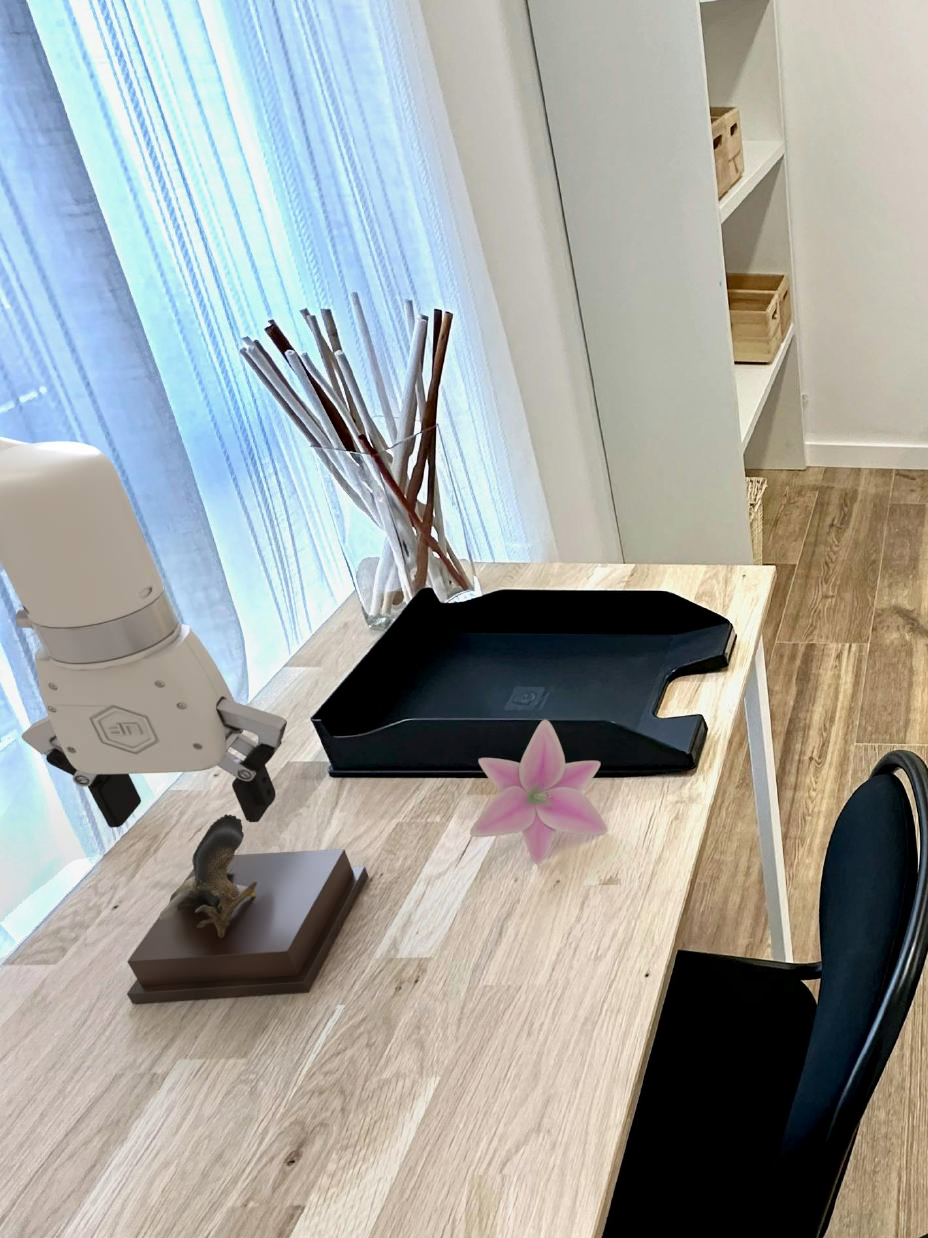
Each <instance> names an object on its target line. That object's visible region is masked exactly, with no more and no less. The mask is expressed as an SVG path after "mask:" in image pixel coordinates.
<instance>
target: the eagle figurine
mask: <svg viewBox="0 0 928 1238" xmlns="http://www.w3.org/2000/svg"><path fill="white" fill-rule="evenodd" d="M243 828H244V827H243V824H242V819H240V818H237V816H236V815H232V814H227V813H225V814H224V815H223V816H221V817H219V818H217V819H216V820H215V821H213V823H212V824H210V826H209V828H208V829H207V831H206V832H205V834H204V836H203V837H202V839H201V841H200V842H199V844H198V845H197V847H196V849H195V851H194V853H193V855H192V866H193V868H194V873H195V876H194V877H192V878H190V879H188V880H187V881H186V882H184V881H183V882H184V883H183V882H182V884H181V885H180V886H179V887H177V888H176V890H175V891H173V893H172V894H171V896H170V899H169V902H168V904H167V905H166V906H165V907H164V908H163V909H162V910H161V911H160V912H159V916H160V920H162V921H169V920H171V919H173V918H174V917H175V916H177V915H178V914H179V913H180V912H181V911H182V910H183V909H184V908H185V907H188V906H193V907H196V908H197V909H196V910H195V913H198V912H200V911H202V912H203V913H204V914H205V915H206V916H208V918H209V919H207V920H204V921H202V922H200V923H199V924H198V925H197V927H199V928H202V927H204V926H205V925H206V924H209V923H214V924H215V926H216V927H217V930H218V936H219V937H220V938H223V937H224V934H225V930H226V927H228V926H229V922H230V921H231V918H230V917H231V914H232V913H233V911H234V909H235V907H237V906H238V904H239V903H240V902H241V901H243V900H244V899H245V898H246V897H248V896H250V897H255V896H256V895H255V894H254V893H252V892H253V891H254V890H255V887H256V884H257V882H256V881H254V882H252V883H251V884H250V886H249V887H245V886H241V885H236V884H232V883H231V882H230V881H229V880H228V879H227V873H229V872H230V871H231V870H232V868H229V869H227V867H228V865H229V864H230V862H231V861H232V859H233V858H234V855H236V854H235V852H236V851H237V850H238V848H239V847H240V846H241V844H242V843H243V840H244V838H245V834H244V831H243ZM193 868H192V869H193Z"/></svg>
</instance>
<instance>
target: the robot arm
mask: <svg viewBox="0 0 928 1238" xmlns="http://www.w3.org/2000/svg"><path fill="white" fill-rule="evenodd" d="M0 564H1V565H2V568H3V570H4V572H5V574H6V576H7V578H8V580H9V582H10V584H11V586H12V588H13V590H14V592H15V594H16V596H17V598H18V600H19V602H20V604H21V606H22V608H20V609H18V611H17V612H16V614H15V623H16V625H17V626H18V627H19V628H20V629H31V630H34V632H35V634H36V636H37V638H38V640H39V642H40V644H41V646H40V647H39V648H38V649H37V650H36V651H35V653H34V661H35V662H34V663H35V670H36V676H37V682H38V686H39V690H40V694H41V698H42V701H43V704H44V707H45V710H46V713H47V716H45V717H44V718H41V719H40V720H37V721H35V722H33V723H32V724H31V725H30V726H29V727H28V728H27V729H26V730H25V731H24V732H23V733H22V734H21V739H22V740H23V741H24V742H25V743H26V744H28V745H29V746H30V747H31V748H33V749H34V750H36V752H38V753H40V755H44V756H46V757H45V759H46V762H47V763H48V764H49V765H51V766H53V767H55V768H58V769H59V770H60V771H63V772H65V773H67V774H68V775H71V776H72V781H73V783H74V784H76V785H77V786H79V787H83V788H85V787H87V788H88V790H89V792H90V794H91V796H92V799H93V800H94V801H95V804H96V806H97V808H98V810H99V811H100V812H101V814H102V817H103V818H104V820H105V823H106V824H107V826H108V827H109V828H121V826H123V825H124V824H125V823H126V822H127V820H129V818H130V817H131V815H132V814H133V813H134V812H135V810H137V808H138V807H139V806H140V805H141V803H142V799H141V796H140V794H139V792H138V790H137V788H136V786H135V784H134V782H133V780H132V777H131V776H130V775H131V774H132V775H134V774H135V775H137V774H138V775H139V774H165V773H166V774H168V773H188V772H189V773H190V772H202V771H208V770H210V769H213V768H215V767H216V766H217V767H219V768H220V769H222V770H223V771H225V772H226V773H228V774H229V775H232V776H233V777H235V779H234V780H233V781H232V783H231V787H232V790H233V792H234V795H235V797H236V799H237V801H238V802H237V803H238V804H239V806H240V808H241V811H242V813H243V817H244V818H245V821H248V822H249V823H258V822H260V821H261V819H262V817H263V816H264V815H265V813H266V812H267V810H268V809H269V808H270V806H271V805H272V804H273V803H274V801H275V799H276V796H277V795H276V789H275V786H274V784H273V781H272V779H271V776H270V773H269V772H268V769H267V767H266V765H267V763H269V761H271V759H272V758H273V756H274V755H275V754H276V752H277V751H278V749H279V748H280V747H281V745H282V739H283V737H284V734H285V732H286V729H287V725H288V722H287V720H286V719H285V718H284V717H283V716H281V715H277V714H274V713H271V712H268V711H264V710H262V709H261V710H260V709H258V708H254V707H251V706H248V705H245V704H243V703H239V702H236V701H235V699H234V697H233V694H232V692H231V690H230V688H229V686H228V684H227V683H226V680H225V679H224V676H223V675H222V673H221V671H220V669H219V667H218V665H217V664H216V662H215V661H214V659H213V657H212V656H211V654H210V653H209V651H208V649H207V648H206V647H205V645H204V644H203V642H202V641H201V639H200V638H199V636H198V635H197V634H196V632H195V631H194V630H193V628H191V626H190V625H189V624H185V623H184V624H183V623H181V622H180V620H179V618H178V615H177V613H176V610H175V608H174V606H173V605H174V604H173V602H172V601H171V600H172V599H171V598H170V596H169V593H168V591H167V588H166V586H165V584H164V581H163V579H162V577H161V574H160V572H159V569H158V567H157V564H156V562H155V559H154V557H153V554H152V553H151V550H150V547H149V545H148V542H147V540H146V538H145V535H144V533H143V530H142V528H141V526H140V523H139V520H138V518H137V516H136V514H135V511H134V509H133V506H132V504H131V501H130V498H129V497H128V494H127V491H126V489H125V487H124V484H123V482H122V480H121V477H120V475H119V473H118V471H117V468H116V466H115V465H114V463H113V461H112V460H111V458H109V456H108V455H107V454H106V453H105V452H103V451H102V450H100V449H98V448H97V447H95V446H93V445H89V444H86V443H83V442H79V441H78V442H77V441H55V440H54V441H41V442H34V443H30V442H26V441H25V442H24V441H21V440H16V439H11V438H7V437H3V436H0ZM244 731H245V732H246V731H247V732H249V733H253V734H255V735H256V736H257V738H258V740H257V742H256V741H255V740H253V739H252V738H250V737H248V736H246V734H243V732H244ZM230 748H231V749H233V750H235V751H236V752H238V753H239V754H241V755H243V756H244V757H245V758H244V759H241V758H240V757H238V756H236V755H235V754H233V753H232V752H230V751H228V750H230Z"/></svg>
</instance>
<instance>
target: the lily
mask: <svg viewBox="0 0 928 1238" xmlns="http://www.w3.org/2000/svg"><path fill="white" fill-rule="evenodd" d="M478 764H479V766H480V768H481V769H482V771H483V772H484V774H485V775H486V777H487V778H488V779H489V781H490V782H491V783H492V784H493V785H494V786H495V788H496V789H497V790H498V791H499V793H498V794H497V795H496V796H495V797H494V799H492V801H491V802H490V803H489V805H487V807H486V808H485V809H484V810H483V811H482V813H481V814H480V815H479V816H478V818H477V819H476V820H475V822H474V823H473V825H472V826H471V828H470V830H469V835H470V836H471V837H474V838H486V837H497V836H505V835H511V834H516V833H519V832H522V836H523V839H524V842H525V845H526V848H527V851H528V853H529V855H530V858H531V859H532V861H533V863H534V864H535V865H536V867H537V866H540V865H541V863H543V860H544V859H546V856H547V854H548V852H549V851H550V848H551V846H552V843H553V842H554V839H555V835H556V833H557V831H559V832H563V833H569V834H570V833H571V834H579V835H591V836H601V835H605V834H607V833H608V828H607V825H606V823H605V821H604V819H603V817H602V816H601V814H600V812H599V811H598V810H597V809H596V807H595V806H594V804H593V803H592V802H591V801H590V799H589V798H588V797H587V796H586V795H585V794H584V793H582V791H583V789H585V788H586V787H587V786H588V784H589V783H590V782H591V780H592V779H593V778H594V777H595V775H596V773H597V772H598V771H599V769H600V767H601V761H599V760H580V761H572V762H566V758H565V754H564V751H563V748H562V745H561V742H560V739H559V737H558V734H557V733H556V730H555V728H554V726H553V724H552V723H551V722H550V721H549V720H548V719H546V718H545V719H542V720H541V721H540V723H539V724H538V726H537V727H536V728H535V730H534V733H533V735H532V737H531V738H530V740H529V743H528V744H527V746H526V749H525V750H524V752H523V755H522V757H521V760H520V761H519V762H517V761H513V760H511V759H510V760H509V759H502V758H496V757H495V758H494V757H481V758H480V757H479V758H478Z"/></svg>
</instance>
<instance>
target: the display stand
mask: <svg viewBox="0 0 928 1238" xmlns="http://www.w3.org/2000/svg"><path fill="white" fill-rule="evenodd" d="M229 868H232V870H231V871H230V872H229V873H227V879H228V880H229V881H230V882H231V883H232V884H236V885H241V886H245V887H249V886H250V884H251V883H252V882H254V881H256V882H257V884H256V887H255V890H254V891H253V892H252V893H254V894H255V895H256V896H255V897H250V896H248V897H246V898H245V899H244V900H243V901H241V902H240V903H239V904H238V906H237V907H235V909H234V911H233V913H232V914H231V917H230V918H231V921H230V922H229V926H228V927H226V930H225V934H224V937H223V938H220V937H219V936H218V930H217V927H216V926H215V924H214V923H209V924H206V925H205V926H204V927H202V928H199V927H197V925H198V924H199V923H200V922H202V921H204V920H207V919H209V918H208V916H206V915H205V914H204V913H203V912H202V911H200V912H198V913H195V910H196V909H197V908H196V907H193V906H188V907H185V908H184V909H183V910H182V911H181V912H180V913H179V914H178V915H177V916H175V917H174V918H173V919H171V920H169V921H162V920H160V915H159V916H158V918H157V919H156V920H155V922H154V923H153V924H152V926H151V927H150V929H149V930H148V931H147V933H146V934H145V936H144V937H143V938H142V940H141V941H140V942H139V944H138V945H137V946H136V948H135V950H134V951H133V953H132V954H131V955H130V957H129V958H128V960H127V964H128V966H129V967H130V969H131V971H132V972H133V974H134V976H135V978H136V980H135V981H134V982H133V984H132V985H131V987H130V988H129V990H128V991H127V993H126V996H127V997H128V998H129V1000H130V1002H131V1004H132V1005H140V1004H153V1003H169V1002H182V1001H183V1002H185V1001H198V1000H199V1001H200V1000H213V999H227V998H241V997H242V998H244V997H257V996H258V997H260V996H273V995H286V994H287V995H289V994H303V993H309V992H310V991H311V988H312V987H313V984H314V983H315V981H316V979H317V978H318V975H319V973H320V971H321V969H322V967H323V965H324V963H325V961H326V960H327V957H328V956H329V954H330V952H331V950H332V948H333V946H334V944H335V942H336V941H337V939H338V936H339V934H340V932H341V930H342V929H343V926H344V924H345V923H346V921H347V919H348V917H349V915H350V913H351V911H352V909H353V907H354V905H355V903H356V901H357V899H358V897H359V896H360V894H361V892H362V890H363V888H364V886H365V884H366V882H367V880H368V878H369V874H368V871H367V868H366V866H352V865H351V862H350V860H349V858H348V855H347V852H346V850H345V848H339V849H321V850H320V849H318V850H302V851H283V852H264V853H246V854H234V858H233V859H232V861H231V862H230V864H229V865H228V867H227V869H229ZM194 876H195V873H194V868H192V870H191V871H190V873H189V874H188V875H187V877H186V878H185V880H184V881H183V882H182V884H183V883H184V882H186V881H187V880H188V879H190V878H192V877H194Z"/></svg>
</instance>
